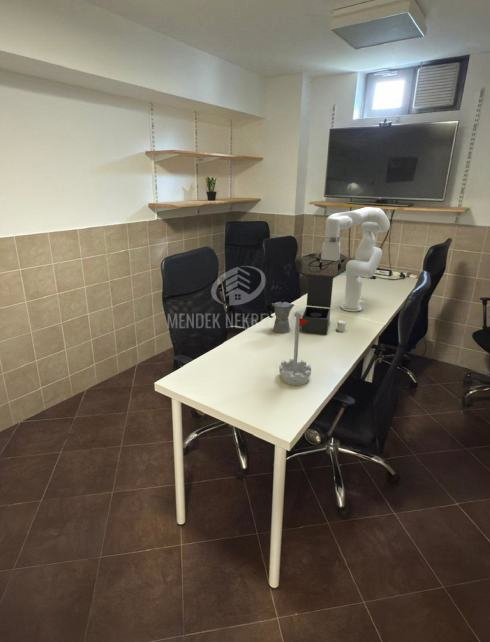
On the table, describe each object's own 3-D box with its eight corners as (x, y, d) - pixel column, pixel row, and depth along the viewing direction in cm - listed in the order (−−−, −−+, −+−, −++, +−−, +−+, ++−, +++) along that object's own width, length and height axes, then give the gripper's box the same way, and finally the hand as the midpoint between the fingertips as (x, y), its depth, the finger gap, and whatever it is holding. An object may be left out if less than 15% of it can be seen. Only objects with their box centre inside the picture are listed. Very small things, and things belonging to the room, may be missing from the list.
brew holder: (313, 326, 202) (314, 311, 199) (322, 329, 197) (323, 314, 195) (307, 329, 198) (308, 314, 195) (316, 332, 194) (317, 317, 191)
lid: (333, 275, 201) (333, 275, 205) (308, 274, 205) (309, 273, 209) (330, 307, 203) (331, 306, 208) (306, 305, 208) (307, 304, 212)
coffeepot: (291, 326, 202) (293, 296, 196) (295, 333, 193) (296, 301, 188) (264, 327, 202) (265, 296, 196) (266, 333, 193) (267, 302, 187)
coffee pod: (339, 327, 199) (340, 319, 198) (346, 330, 196) (347, 321, 195) (335, 330, 197) (336, 321, 195) (342, 332, 194) (343, 323, 192)
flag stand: (289, 389, 141) (292, 319, 132) (273, 373, 153) (275, 308, 143) (316, 382, 146) (321, 313, 137) (299, 367, 158) (302, 303, 148)
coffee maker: (326, 334, 191) (327, 319, 188) (301, 331, 195) (302, 316, 192) (329, 322, 207) (330, 308, 204) (305, 320, 211) (306, 306, 208)
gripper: (348, 239, 198) (345, 269, 203) (316, 238, 203) (314, 267, 208) (347, 241, 191) (345, 272, 196) (315, 240, 196) (313, 270, 202)
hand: (329, 269), depth 202 cm, fingers open, 9 cm apart
